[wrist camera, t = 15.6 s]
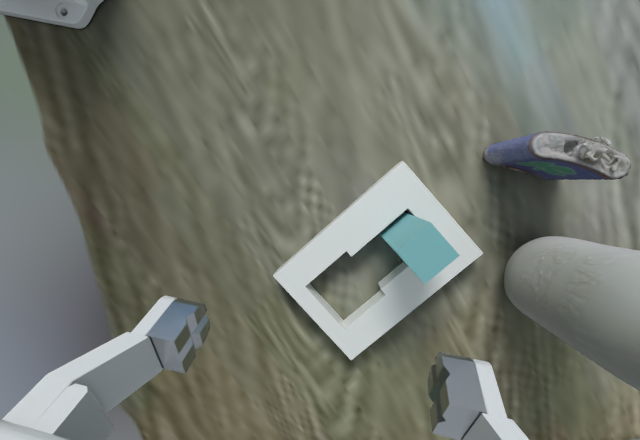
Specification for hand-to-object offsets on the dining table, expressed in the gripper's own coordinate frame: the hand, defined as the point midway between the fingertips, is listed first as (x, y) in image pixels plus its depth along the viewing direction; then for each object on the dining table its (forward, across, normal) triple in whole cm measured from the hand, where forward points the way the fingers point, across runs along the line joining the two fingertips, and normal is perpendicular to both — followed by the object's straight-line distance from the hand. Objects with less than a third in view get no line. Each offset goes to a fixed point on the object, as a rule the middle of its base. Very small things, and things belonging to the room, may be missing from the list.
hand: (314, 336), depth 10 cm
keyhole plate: (+23, -3, +15) cm, 28 cm away
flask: (+31, -18, +4) cm, 36 cm away
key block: (+25, -6, +12) cm, 28 cm away
